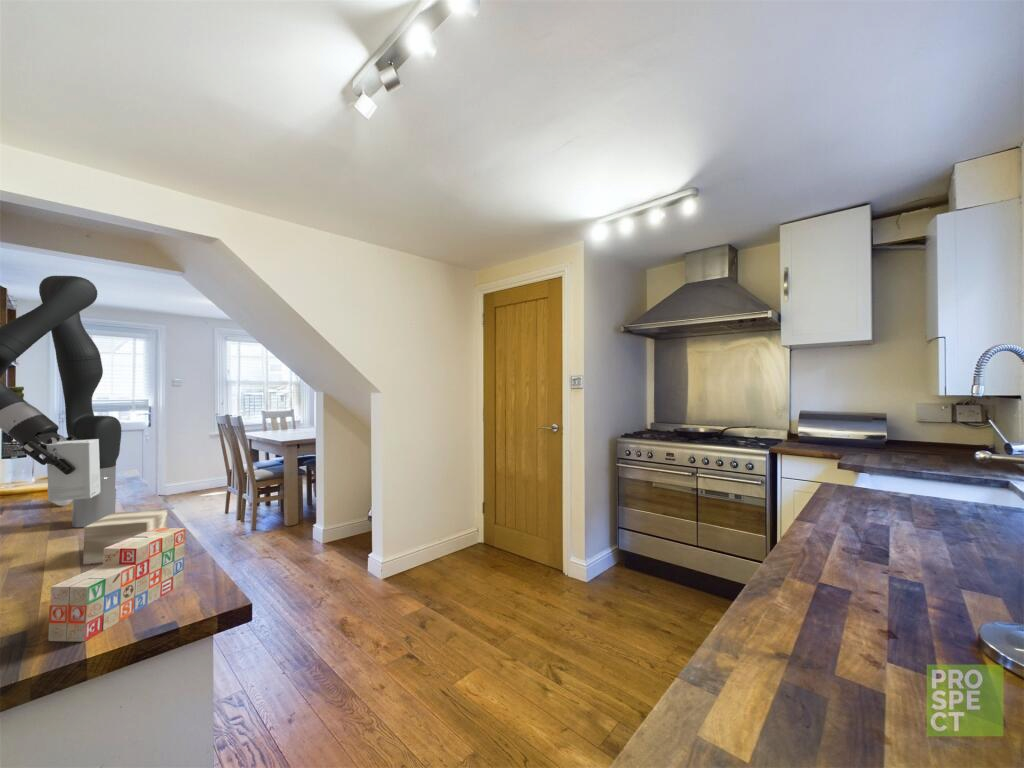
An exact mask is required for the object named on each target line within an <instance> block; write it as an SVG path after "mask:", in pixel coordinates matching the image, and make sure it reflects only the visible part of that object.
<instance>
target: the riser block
mask: <svg viewBox="0 0 1024 768" xmlns="http://www.w3.org/2000/svg"><path fill="white" fill-rule="evenodd" d="M168 511H169V510H168V508H167V509H166V508H165V509H155V510H151V509H150V510H137V511H126V512H124V511H121V512H115V513H112V514H110V515H108V516H106V517H104V518H102V519H100V520H98V521H96V522H94V523H92V524H90V525H88V526H86V527H83V528H84V532H83V536H84V537H83V559H82V561H83V562H82V563H83V565H92V564H99V563H102V564H103V554H104V548H106V547H109V546H111V545H114V544H116V543H119V542H121V541H124V540H126V539H129V538H133V536H136V535H138V534H141V533H143V532H148V531H151V530H153V529H156V528H168V514H169V513H168ZM91 563H92V564H91Z"/></svg>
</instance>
